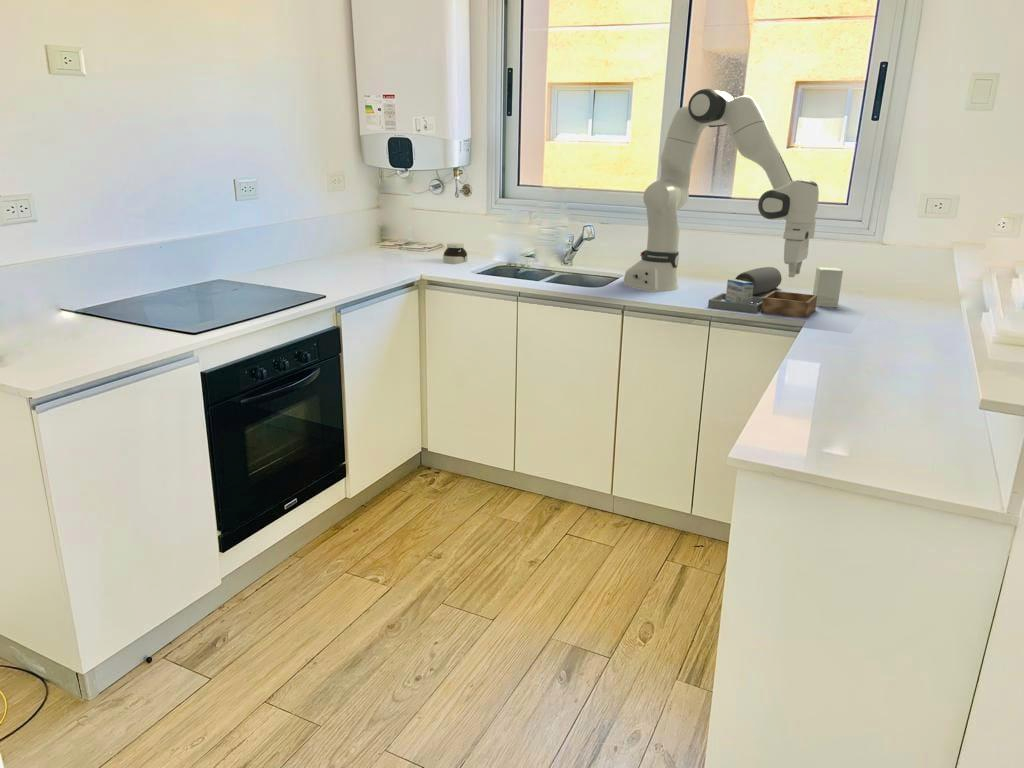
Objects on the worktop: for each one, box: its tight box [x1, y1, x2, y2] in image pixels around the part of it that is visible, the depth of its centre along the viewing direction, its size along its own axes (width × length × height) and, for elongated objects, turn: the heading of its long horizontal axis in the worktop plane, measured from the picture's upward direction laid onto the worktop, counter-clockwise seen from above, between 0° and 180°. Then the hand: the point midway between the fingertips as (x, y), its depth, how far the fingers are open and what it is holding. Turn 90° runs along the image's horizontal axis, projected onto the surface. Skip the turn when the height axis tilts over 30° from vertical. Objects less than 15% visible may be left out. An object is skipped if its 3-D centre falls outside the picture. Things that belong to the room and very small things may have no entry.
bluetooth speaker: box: [734, 266, 783, 297], centre depth 272 cm, size 23×9×10 cm, turn 139°
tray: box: [707, 292, 763, 314], centre depth 252 cm, size 16×16×2 cm
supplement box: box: [812, 266, 844, 308], centre depth 257 cm, size 7×7×13 cm
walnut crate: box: [760, 290, 817, 319], centre depth 246 cm, size 14×16×5 cm
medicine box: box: [724, 278, 754, 304], centre depth 252 cm, size 8×4×9 cm, turn 29°
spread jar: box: [442, 242, 468, 265], centre depth 311 cm, size 12×11×12 cm
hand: (794, 275), depth 243 cm, fingers open, 6 cm apart
